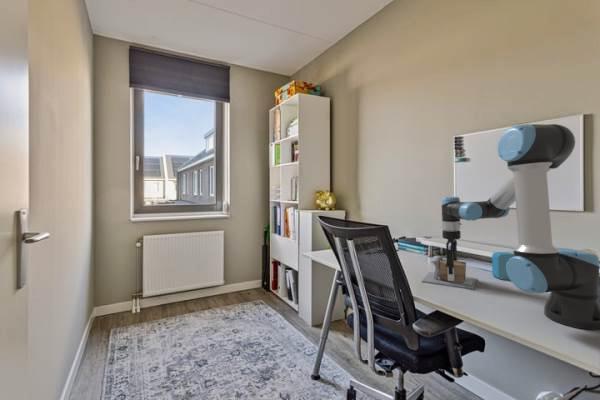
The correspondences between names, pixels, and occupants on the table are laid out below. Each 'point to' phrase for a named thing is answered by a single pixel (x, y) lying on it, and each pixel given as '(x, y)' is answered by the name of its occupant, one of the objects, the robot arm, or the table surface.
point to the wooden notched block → (458, 271)
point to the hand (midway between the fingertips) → (452, 278)
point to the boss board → (435, 279)
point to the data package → (500, 264)
